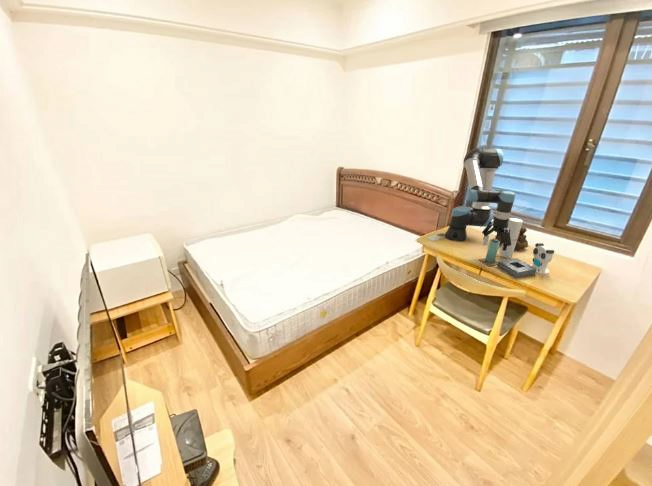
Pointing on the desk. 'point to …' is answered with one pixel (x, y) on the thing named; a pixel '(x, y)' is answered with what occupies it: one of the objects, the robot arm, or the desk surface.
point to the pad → (488, 263)
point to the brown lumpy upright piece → (521, 239)
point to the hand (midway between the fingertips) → (492, 249)
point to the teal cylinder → (492, 251)
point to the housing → (516, 268)
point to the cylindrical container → (513, 235)
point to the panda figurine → (542, 258)
